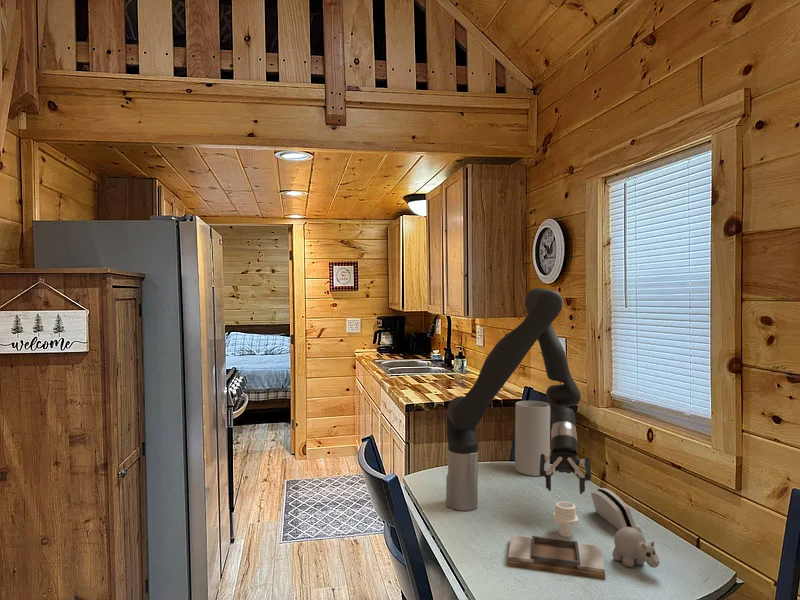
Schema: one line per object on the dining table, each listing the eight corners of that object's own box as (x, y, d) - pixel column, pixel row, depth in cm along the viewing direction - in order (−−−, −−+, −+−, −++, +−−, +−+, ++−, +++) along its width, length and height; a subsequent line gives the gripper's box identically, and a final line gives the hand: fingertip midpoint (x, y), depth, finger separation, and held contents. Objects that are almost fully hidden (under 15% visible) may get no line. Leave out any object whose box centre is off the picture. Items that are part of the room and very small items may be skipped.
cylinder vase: (552, 468, 202) (552, 402, 202) (546, 478, 191) (547, 408, 191) (518, 464, 207) (519, 399, 207) (511, 473, 196) (512, 405, 196)
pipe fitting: (583, 537, 144) (584, 508, 144) (560, 540, 142) (560, 510, 142) (569, 527, 150) (570, 499, 150) (547, 530, 148) (547, 501, 148)
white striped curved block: (643, 534, 147) (632, 500, 146) (628, 541, 146) (616, 507, 145) (610, 510, 163) (600, 479, 163) (597, 516, 162) (587, 485, 162)
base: (507, 565, 129) (507, 555, 129) (511, 540, 142) (511, 530, 142) (605, 579, 123) (605, 568, 123) (599, 551, 137) (599, 541, 136)
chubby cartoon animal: (644, 582, 122) (645, 545, 122) (607, 558, 133) (607, 524, 133) (669, 577, 124) (669, 540, 124) (630, 553, 136) (630, 520, 135)
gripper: (539, 432, 162) (539, 482, 151) (589, 435, 158) (592, 487, 147) (539, 444, 167) (539, 494, 156) (588, 448, 163) (591, 499, 152)
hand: (565, 491), depth 151 cm, fingers open, 8 cm apart
